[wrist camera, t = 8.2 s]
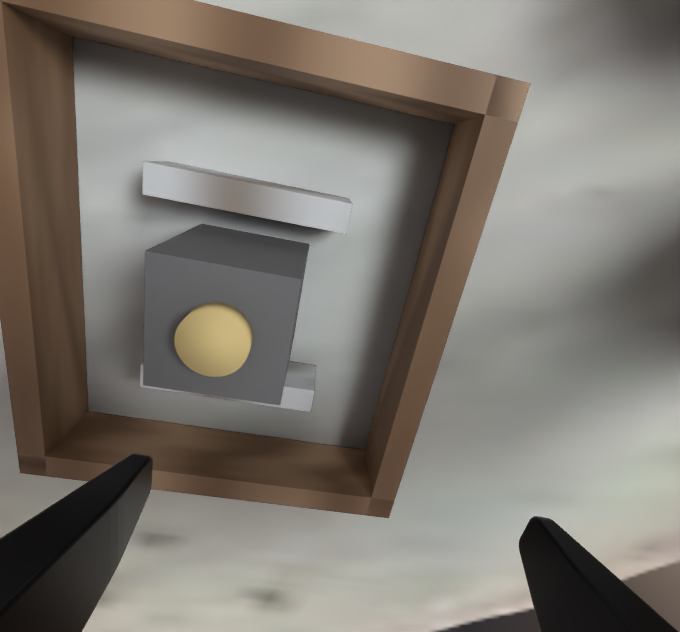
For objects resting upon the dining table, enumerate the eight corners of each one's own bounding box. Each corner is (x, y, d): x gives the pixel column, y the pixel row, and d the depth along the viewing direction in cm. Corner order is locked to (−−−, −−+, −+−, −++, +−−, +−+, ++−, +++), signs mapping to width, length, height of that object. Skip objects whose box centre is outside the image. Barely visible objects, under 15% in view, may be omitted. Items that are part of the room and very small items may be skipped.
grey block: (309, 244, 18) (299, 286, 12) (293, 338, 20) (277, 418, 14) (202, 223, 18) (133, 256, 12) (195, 322, 20) (132, 397, 13)
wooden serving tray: (489, 99, 16) (530, 83, 13) (380, 468, 23) (388, 518, 20) (36, -10, 14) (-48, -59, 11) (66, 426, 22) (20, 472, 18)
